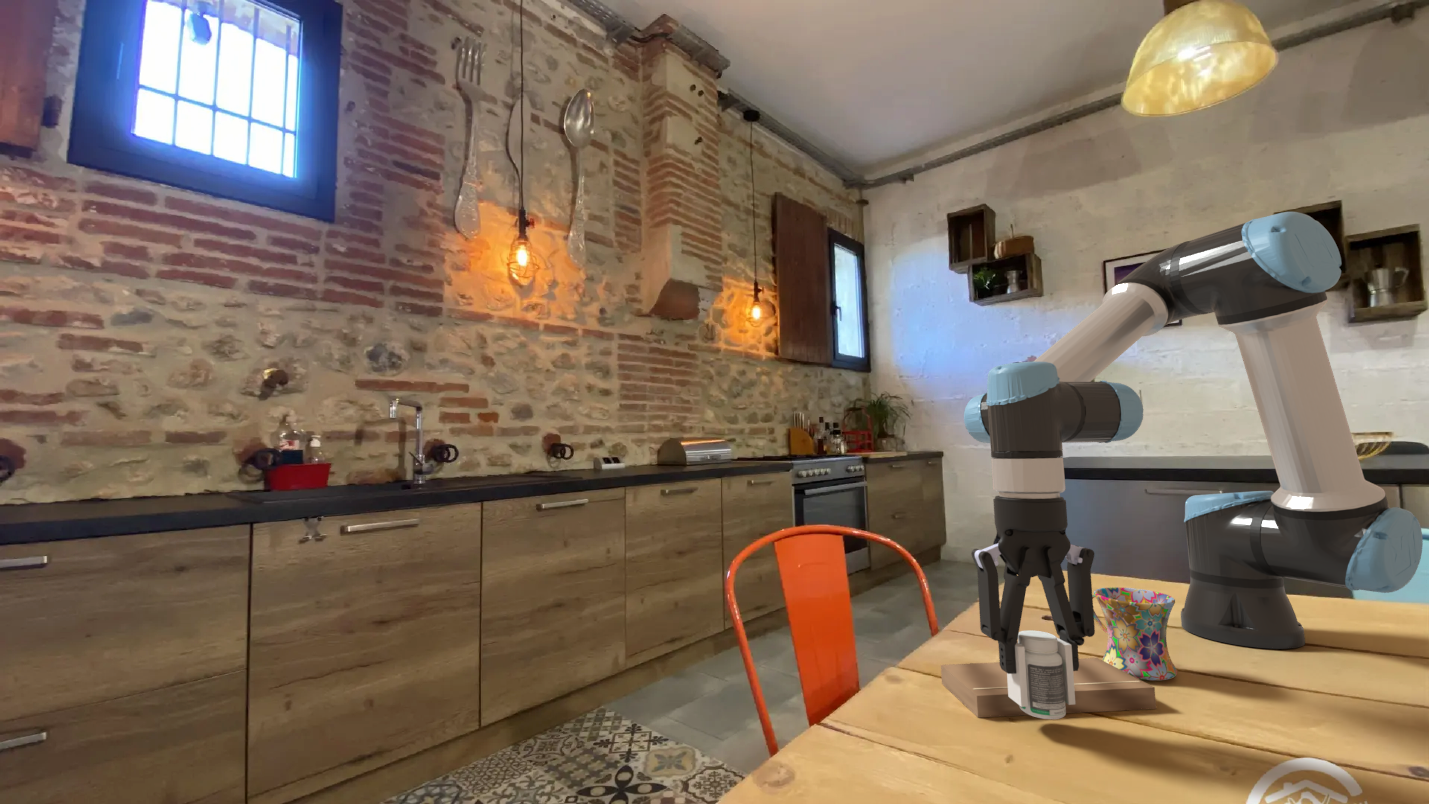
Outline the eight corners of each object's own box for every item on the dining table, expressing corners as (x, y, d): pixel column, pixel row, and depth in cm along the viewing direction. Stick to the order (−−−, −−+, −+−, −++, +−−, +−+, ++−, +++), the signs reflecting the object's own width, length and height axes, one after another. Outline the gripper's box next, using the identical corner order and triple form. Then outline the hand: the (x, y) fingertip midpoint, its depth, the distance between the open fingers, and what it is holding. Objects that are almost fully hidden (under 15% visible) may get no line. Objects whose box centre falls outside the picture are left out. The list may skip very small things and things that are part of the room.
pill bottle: (1076, 716, 66) (1071, 638, 66) (1044, 724, 64) (1039, 644, 65) (1039, 699, 70) (1035, 627, 71) (1009, 706, 68) (1004, 632, 69)
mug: (1199, 680, 79) (1192, 599, 80) (1146, 690, 76) (1139, 606, 77) (1116, 651, 90) (1110, 581, 91) (1067, 659, 88) (1062, 586, 89)
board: (1098, 676, 81) (1097, 657, 81) (1156, 708, 71) (1154, 686, 71) (941, 683, 80) (940, 664, 80) (977, 717, 70) (976, 695, 70)
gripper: (1080, 490, 73) (1094, 684, 71) (940, 494, 72) (950, 690, 71) (1125, 495, 66) (1141, 711, 64) (969, 499, 65) (981, 719, 63)
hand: (1041, 700), depth 67 cm, fingers closed on pill bottle, 5 cm apart
